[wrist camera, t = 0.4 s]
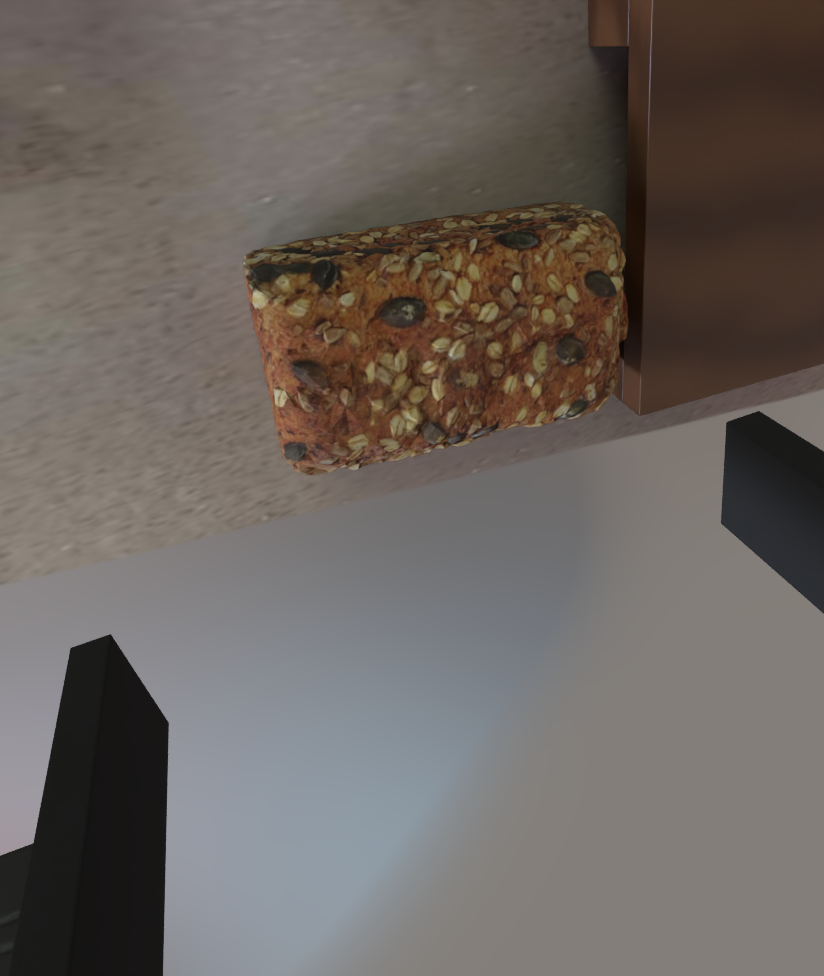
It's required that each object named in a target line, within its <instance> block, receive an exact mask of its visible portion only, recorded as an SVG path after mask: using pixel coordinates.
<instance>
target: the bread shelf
mask: <svg viewBox="0 0 824 976" xmlns="http://www.w3.org/2000/svg"><path fill="white" fill-rule="evenodd" d="M588 14H589V46H590V47H629V65H628V127H627V188H626V250H625V259H626V263H625V295H626V301H627V306H628V310H627V317H628V321H629V322H628V328H627V336H626V339H624V340H623V341H621V342H620V343H619V351H620V355H619V364H618V370H617V371H618V374H619V379H618V383H617V385H616V387H615V389H614V390H613V392H612V394H613V395H614V396H616V397H617V398H618V399H619V400H621V401H622V402H623V403H624V404H625V405H627V406H628V407H629V408H630V409H632V410H633V411H634V412H635V413H636V414H638V415H639V416H642V415H645V414H649V413H652V412H656V411H659V410H663V409H666V408H670V407H673V406H677V405H680V404H684V403H687V402H691V401H694V400H698V399H701V398H705V397H708V396H712V395H715V394H719V393H722V392H726V391H729V390H733V389H736V388H740V387H743V386H747V385H750V384H754V383H757V382H761V381H764V380H768V379H771V378H775V377H778V376H782V375H785V374H789V373H792V372H796V371H799V370H803V369H806V368H810V367H813V366H817V365H820V364H824V0H588Z"/></svg>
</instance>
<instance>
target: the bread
mask: <svg viewBox="0 0 824 976" xmlns="http://www.w3.org/2000/svg"><path fill="white" fill-rule="evenodd" d="M620 244H621V237H620V234H619V232H618V230H617V228H616V226H615V224H614V223H613V222H612V221H611V220H610V219H609V218H608V217H607V216H606V215H605V214H603V213H602V212H598V211H596V210H589V209H587V208H586V207H585V206H584V205H581V204H569V203H563V202H554V203H545V204H533V205H527V206H521V207H515V208H508V209H500V210H492V211H487V212H483V213H481V214H465V215H456V216H448V217H444V218H435V219H431V220H426V221H418V222H412V223H409V224H400V225H394V226H389V227H377V228H370V229H369V230H367V231H358V232H352V231H351V232H346V233H342V234H338V235H332V236H325V237H319V238H312V239H305V240H299V241H295V242H292V243H288V244H285V245H277V246H270V247H265V248H262V249H260V250H254V251H252V252H250V253H249V254H246V255H244V256H245V261H244V262H243V266H244V275H245V281H246V287H247V293H248V298H249V303H250V309H251V314H252V320H253V326H254V330H255V332H256V335H257V339H258V342H259V346H260V351H261V356H262V362H263V368H264V373H265V377H266V382H267V386H268V390H269V394H270V398H271V404H272V412H273V417H274V421H275V425H276V430H277V435H278V440H279V444H280V448H281V452H282V456H283V457H284V459H285V460H286V461H287V462H288V463H289V464H291V465H293V466H294V472H298V473H302V474H306V475H320V474H325V473H329V472H332V471H334V470H336V469H338V468H350V469H351V470H355V469H359V468H360V467H362V466H365V465H368V464H371V463H375V462H384V461H395V460H400V459H404V458H406V457H408V456H411V457H414V456H417V455H421V454H425V453H430V452H431V451H432V449H436V448H442V449H445V448H447V447H448V446H450V445H454V446H463V445H466V444H469V443H470V442H472V441H473V440H476V439H479V438H482V437H485V436H488V435H489V434H490V433H492V432H496V431H500V430H504V429H508V428H511V427H515V426H526V427H537V426H542V425H545V424H549V423H552V422H554V421H556V420H559V419H575V418H577V417H580V416H583V415H585V414H588V413H590V412H593V411H596V410H598V409H599V408H600V407H601V406H602V405H603V404H604V403H605V402H606V400H607V399H608V398H609V397H610V395H611V393H612V392H613V390H614V389H615V387H616V385H617V383H618V379H619V374H618V371H617V370H618V364H619V355H620V351H619V343H620V342H621V341H623V340H624V339H626V336H627V328H628V322H629V321H628V317H627V310H628V306H627V301H626V295H625V293H624V291H623V284H624V278H623V275H622V270H623V267H624V265H625V263H626V259H625V255H624V252H623V251H622V249H621V248H620Z"/></svg>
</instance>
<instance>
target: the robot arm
mask: <svg viewBox="0 0 824 976" xmlns="http://www.w3.org/2000/svg"><path fill="white" fill-rule="evenodd" d="M725 443H726V444H725V460H724V479H723V498H722V515H721V523H722V525H724V526H725V527H726V528H727V529H728V530H729V531H730V532H732V533H733V534H734V535H735V536H736V537H737V538H738V539H739V540H741V541H742V542H743V543H744V544H745V545H746V546H748V547H749V548H750V549H751V550H752V551H753V552H754V553H755V554H757V555H758V556H759V557H760V558H761V559H762V560H763V561H765V562H766V563H767V564H768V565H769V566H770V567H771V568H772V569H774V570H775V571H776V572H777V573H778V574H779V575H781V576H782V577H783V578H784V579H785V580H786V581H787V582H788V583H790V584H791V585H792V586H793V587H794V588H795V589H796V590H798V591H799V592H800V593H801V594H802V595H803V596H804V597H805V598H807V599H808V600H809V601H810V602H811V603H812V604H813V605H815V606H816V607H817V608H818V609H819V610H820V611H821V612H823V613H824V452H823V451H822V450H820V449H818V448H817V447H815V446H813V445H812V444H811V443H809V442H807V441H806V440H804V439H803V438H801V437H799V436H798V435H796V434H795V433H793V432H791V431H790V430H788V429H786V428H785V427H783V426H782V425H780V424H779V423H777V422H776V421H774V420H772V419H771V418H769V417H768V416H766V415H764V414H763V413H761V412H760V411H758V412H755V413H752V414H749V415H746V416H743V417H740V418H737V419H735V420H732V421H729V422H727V423H726V442H725ZM168 727H169V723H168V721H167V720H166V718H165V717H164V715H163V714H162V712H161V710H160V709H159V707H158V706H157V704H156V703H155V701H154V700H153V698H152V697H151V695H150V694H149V692H148V691H147V689H146V688H145V686H144V684H143V683H142V681H141V680H140V678H139V677H138V675H137V674H136V672H135V671H134V669H133V668H132V666H131V665H130V663H129V662H128V660H127V658H126V657H125V655H124V654H123V652H122V651H121V649H120V648H119V646H118V645H117V643H116V642H115V640H114V639H113V637H112V636H111V635H107V636H104V637H101V638H98V639H96V640H93V641H90V642H87V643H84V644H81V645H78V646H75V647H72V648H71V649H70V654H69V660H68V665H67V670H66V675H65V681H64V686H63V691H62V697H61V702H60V707H59V712H58V718H57V723H56V728H55V733H54V739H53V744H52V749H51V755H50V760H49V765H48V770H47V776H46V781H45V786H44V791H43V797H42V802H41V807H40V812H39V818H38V823H37V828H36V833H35V839H34V843H33V844H31V845H28V846H25V847H23V848H20V849H17V850H15V851H12V852H9V853H7V854H4V855H1V856H0V976H163V944H164V902H165V859H166V816H167V771H168Z"/></svg>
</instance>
